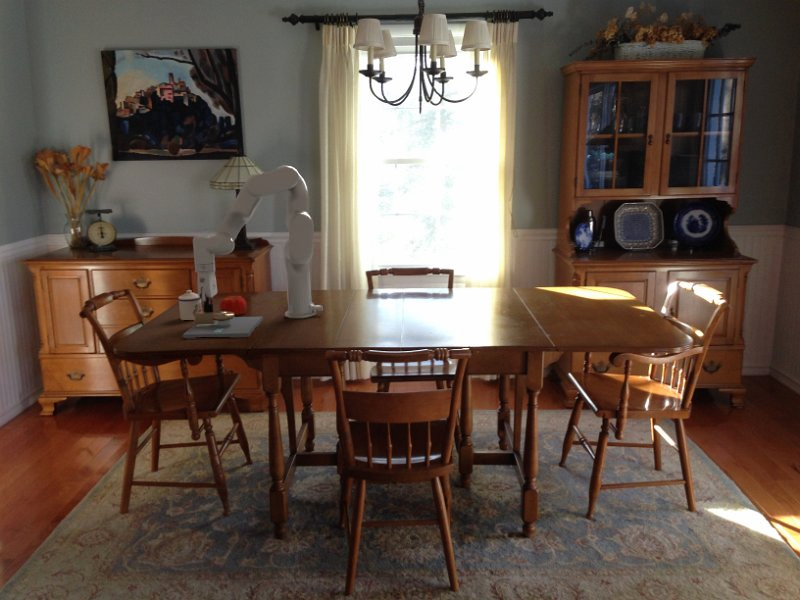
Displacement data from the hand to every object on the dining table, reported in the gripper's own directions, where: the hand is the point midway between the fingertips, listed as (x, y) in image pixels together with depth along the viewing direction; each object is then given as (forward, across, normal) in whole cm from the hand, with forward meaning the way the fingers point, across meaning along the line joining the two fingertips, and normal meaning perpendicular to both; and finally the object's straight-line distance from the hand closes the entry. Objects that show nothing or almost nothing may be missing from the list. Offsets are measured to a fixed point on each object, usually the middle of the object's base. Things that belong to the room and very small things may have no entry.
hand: (208, 313), depth 264 cm
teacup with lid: (+4, +12, +10) cm, 16 cm away
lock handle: (+2, -7, -5) cm, 9 cm away
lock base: (+4, -7, -8) cm, 12 cm away
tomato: (+4, +15, -6) cm, 16 cm away
